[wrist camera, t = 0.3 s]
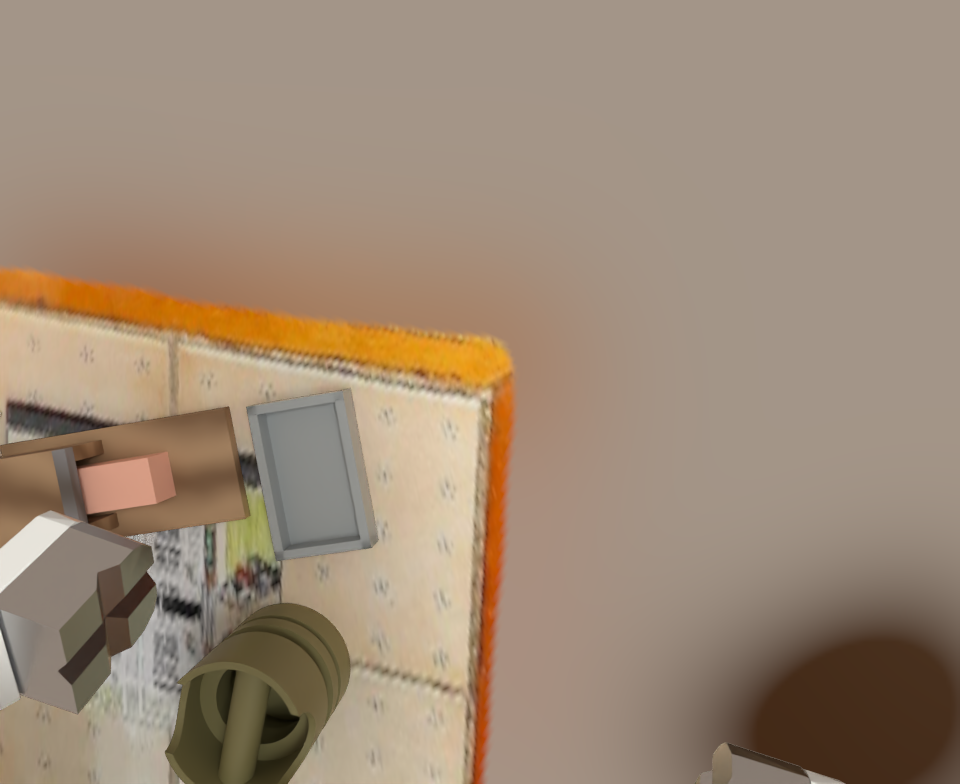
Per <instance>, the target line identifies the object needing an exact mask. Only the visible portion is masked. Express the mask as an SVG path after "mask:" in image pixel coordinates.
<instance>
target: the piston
mask: <svg viewBox="0 0 960 784" xmlns="http://www.w3.org/2000/svg"><path fill="white" fill-rule="evenodd" d="M349 678H350V658H349V653H348V650H347V647H346V644H345V642H344V640H343V638H342V636H341V634H340V633H339V631H338V630H337V629H336V627H335V626H334V625H333V624H332V623H331V622H330V621H329V620H328V619H327V618H325V617H324V616H323V615H321V614H320V613H318V612H316V611H315V610H313V609H310V608H308V607H305V606H302V605H297V604H289V603H283V604H275V605H271V606H267V607H265V608H262V609H260V610H258V611H257V612H255V613H254V614H252V615H251V616H250V617H249V618H248V619H246V620H245V621H244V622H243V623H242V624H241V625H240V626H239V627H238V628H236V629H235V630H234V631H233V632H232V633H231V634H230V635H229V636H228V637H227V638H225V639H224V640H223V641H222V642H221V643H220V644H219V645H218V646H217V647H215V648H214V649H213V650H212V651H211V652H210V653H209V654H208V655H207V656H205V657H204V658H203V659H202V660H201V661H200V662H199V663H198V664H197V665H196V666H194V667H193V668H192V669H191V670H190V671H189V672H188V673H187V674H186V675H184V676H183V677H182V678H181V679H180V680H179V681H178V682H177V683H178V684H182V685H183V686H182V691H181V696H180V702H179V708H178V714H177V720H176V725H175V730H174V734H173V737H172V740H171V743H170V745H169V747H168V748H167V750H166V751H165V754H166V757H167V759H168V761H169V763H170V765H171V767H172V768H173V770H174V771H175V773H176V774H177V775H178V777H179V778H180V779H181V780H182V781H183V782H184V783H185V784H288V782H289V781H290V779H291V778H292V777H293V775H294V774H295V772H296V771H297V769H298V768H299V766H300V765H301V763H302V762H303V760H304V759H305V757H306V755H307V754H308V752H309V751H310V749H311V747H312V746H313V744H314V742H315V741H316V739H317V738H318V736H319V734H320V732H321V731H322V729H323V728H324V726H325V725H326V723H327V721H328V720H329V718H330V716H331V715H332V713H333V712H334V710H335V708H336V707H337V705H338V703H339V702H340V700H341V699H342V697H343V695H344V693H345V691H346V689H347V686H348V682H349Z"/></svg>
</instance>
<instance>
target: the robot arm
mask: <svg viewBox="0 0 960 784" xmlns="http://www.w3.org/2000/svg"><path fill="white" fill-rule="evenodd" d="M153 563H154V560H153V554H152V548H151V546H149V545H146V544H143V543H140V542H137V541H135V540H132V539H129V538H126V537H124V536H121V535H118V534H115V533H113V532H110V531H107V530H104V529H102V528H99V527H96V526H93V525H90V524H88V523H86V522H83V521H80V520H77V519H74V518H72V517H69V516H66V515H63V514H60V513H57V512H54V511H48V512H46V513H43V514H41V515H39V516H37V517H35V518H34V519H33V520H32V521H31V522H30V523H29V524H27V525H26V526H25V527H24V528H23V529H22V530H21V531H19V532H18V533H17V534H16V535H15V536H14V537H13V538H12V539H10V540H9V541H8V542H7V543H6V544H5V545H4V546H2V547H1V548H0V710H2V709H4V708H5V707H7V706H9V705H11V704H13V703H14V702H16V701H18V700H20V698H21V697H20V695H22V696H25V697H28V698H31V699H34V700H37V701H40V702H43V703H46V704H49V705H52V706H55V707H58V708H61V709H64V710H66V711H69V712H72V713H75V714H79V712H80V711H81V710H82V709H83V707H84V706H85V705H86V704H87V702H88V701H89V700H90V699H91V697H92V696H93V695H94V694H95V692H96V691H97V690H98V689H99V687H100V686H101V685H102V684H103V682H104V681H105V680H106V679H107V677H108V676H109V675H110V674H111V656H113V655H116V654H118V653H120V652H122V651H124V650H126V649H129V648H131V647H132V646H133V645H134V643H135V642H136V641H137V639H138V638H139V637H140V635H141V634H142V633H143V631H144V630H145V628H146V626H147V624H148V622H149V620H150V618H151V616H152V614H153V612H154V608H155V603H156V598H157V589H156V583H155V582H154V580H153V579H152V578H151V577H150V575H149V574H148V573H147V570H148V569H149V568H150V567H151V566H152V564H153ZM712 762H713V763H712V769H713V770H712V771H709V772H705V773H702V774H700V776H699V777H698V779H697V781H696V782H695V784H845V783H843V782H841V781H839V780H836V779H833V778H829V777H826V776H823V775H820V774H817V773H813V772H810V771H807V770H804V769H802V768H801V767H800V766H797V765H794V764H791V763H788V762H785V761H782V760H778V759H775V758H772V757H769V756H766V755H763V754H760V753H757V752H754V751H751V750H748V749H745V748H742V747H739V746H736V745H732V744H729V743H724V744H722V745H720V746H719V747H718V749H717V750H716V751H715V753H714V754H713V756H712Z"/></svg>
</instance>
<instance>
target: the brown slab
mask: <svg viewBox="0 0 960 784" xmlns="http://www.w3.org/2000/svg"><path fill="white" fill-rule="evenodd" d="M0 449H1V454H2V457H0V548H1V547H2V546H4V545H5V544H6V543H7V542H8V541H9V540H10V539H12V538H13V537H14V536H15V535H16V534H17V533H18V532H19V531H21V530H22V529H23V528H24V527H25V526H26V525H27V524H29V523H30V522H31V521H32V520H33V519H34V518H35V517H37V516H39V515H41V514H43V513H46V512H48V511H54V512H57V513H60V514H63V515H66V516H69V517H72V518H74V519H77V520H80V521H83V522H86V523H88V524H90V525H93V526H96V527H99V528H102V529H104V530H107V531H110V532H113V533H115V534H118V535H121V536H124V537H125V536H131V535H138V534H145V533H152V532H159V531H165V530H172V529H179V528H186V527H192V526H199V525H206V524H213V523H220V522H226V521H233V520H240V519H246V518H247V517H249V516H250V512H249V507H248V502H247V496H246V491H245V486H244V481H243V476H242V471H241V466H240V461H239V455H238V450H237V445H236V440H235V435H234V430H233V425H232V419H231V414H230V409H229V407H224V408H218V409H212V410H206V411H201V412H195V413H189V414H183V415H177V416H171V417H165V418H159V419H153V420H147V421H141V422H135V423H130V424H124V425H118V426H112V427H106V428H100V429H94V430H88V431H82V432H76V433H70V434H64V435H59V436H53V437H47V438H41V439H35V440H29V441H23V442H17V443H11V444H6V445H1V446H0ZM162 452H168V457H169V462H170V467H171V472H172V477H173V482H174V486H175V491H176V496H174V497H171V498H169V499H166V500H164V501H162V502H159V503H157V504H151V505H145V506H138V507H132V508H125V509H118V510H112V511H105V512H99V513H92V514H86V510H85V505H84V500H83V496H82V491H81V486H80V481H79V477H78V472H77V467H76V466H82V465H88V464H94V463H100V462H106V461H113V460H119V459H125V458H131V457H137V456H143V455H149V454H156V453H162Z"/></svg>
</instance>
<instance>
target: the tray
mask: <svg viewBox="0 0 960 784" xmlns="http://www.w3.org/2000/svg"><path fill="white" fill-rule="evenodd" d="M246 408H247V413H248V418H249V423H250V429H251V434H252V439H253V444H254V449H255V454H256V460H257V465H258V470H259V475H260V480H261V485H262V491H263V496H264V501H265V506H266V511H267V516H268V522H269V527H270V532H271V537H272V542H273V547H274V553H275V558H276V561H280V560H288V559H295V558H302V557H309V556H316V555H324V554H331V553H338V552H345V551H352V550H360V549H367V548H372V547H373V545H374V544H375V543H376V542H377V541H378V535H377V529H376V524H375V518H374V513H373V507H372V502H371V497H370V491H369V486H368V480H367V475H366V469H365V464H364V459H363V453H362V448H361V442H360V437H359V431H358V426H357V421H356V415H355V410H354V404H353V399H352V393H351V388H350V389H344V390H338V391H333V392H327V393H321V394H315V395H309V396H303V397H297V398H291V399H285V400H279V401H273V402H267V403H261V404H256V405H252V406H248V407H246Z"/></svg>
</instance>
